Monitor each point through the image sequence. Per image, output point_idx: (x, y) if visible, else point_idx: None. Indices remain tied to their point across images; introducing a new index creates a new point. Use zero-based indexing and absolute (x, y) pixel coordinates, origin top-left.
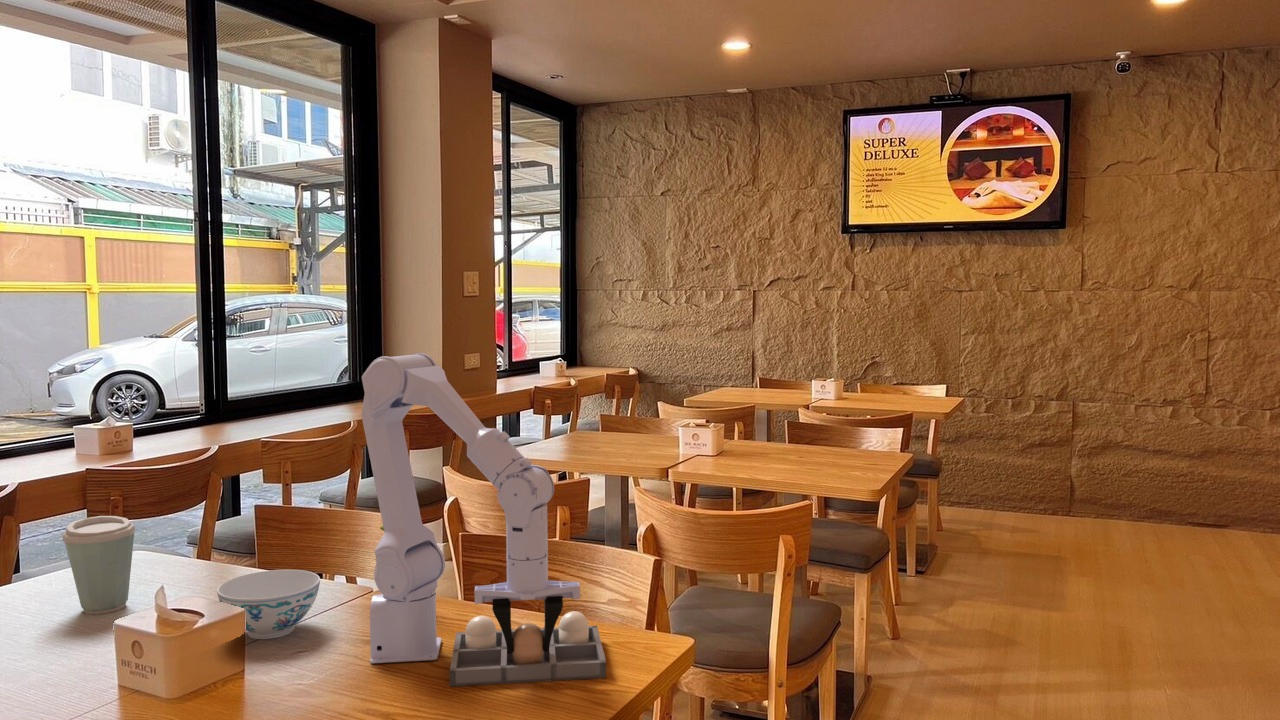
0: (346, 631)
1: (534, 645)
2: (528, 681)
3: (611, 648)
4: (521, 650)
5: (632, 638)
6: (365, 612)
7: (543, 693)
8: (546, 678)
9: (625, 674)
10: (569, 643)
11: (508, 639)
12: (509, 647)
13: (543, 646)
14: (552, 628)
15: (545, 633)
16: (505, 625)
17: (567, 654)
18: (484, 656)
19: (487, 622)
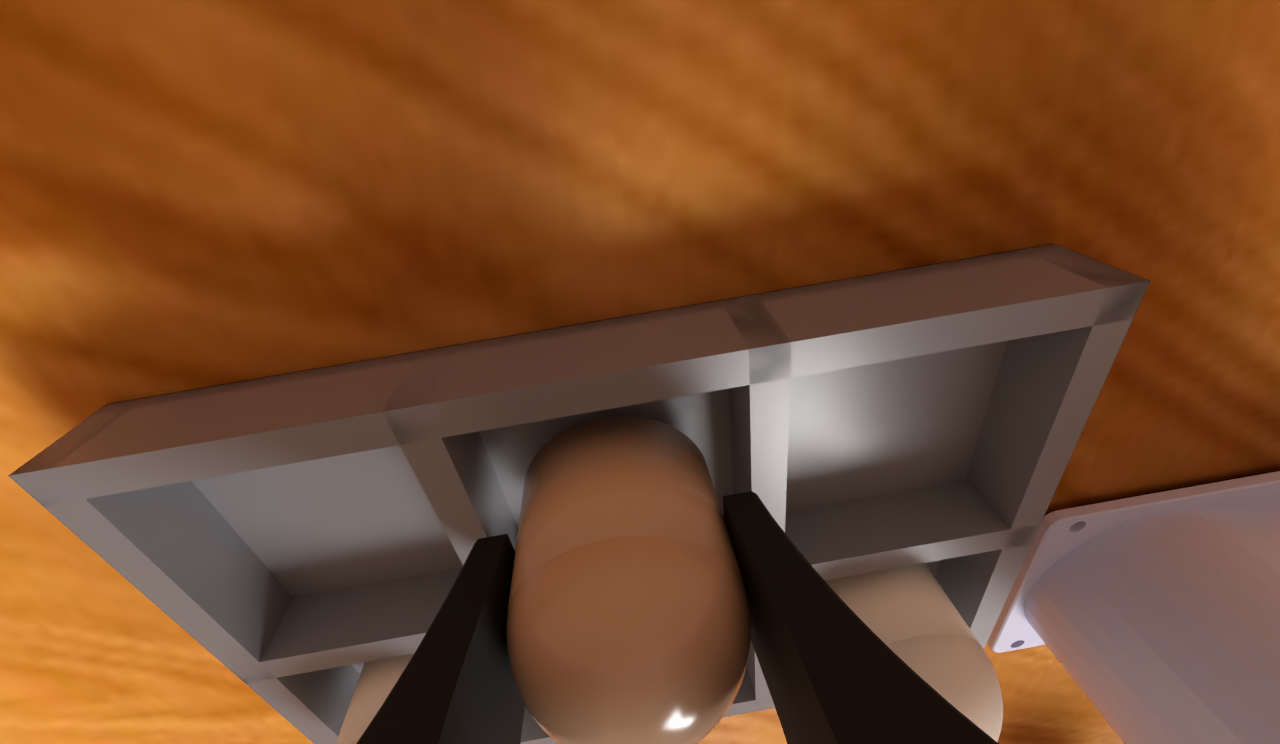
0: None
1: (560, 546)
2: (588, 324)
3: None
4: (662, 502)
5: (234, 733)
6: None
7: (443, 154)
8: (475, 349)
9: (12, 454)
10: None
11: (788, 573)
12: (758, 522)
13: (513, 574)
14: (370, 731)
15: (459, 668)
16: (884, 707)
17: (434, 588)
18: (856, 525)
19: None
